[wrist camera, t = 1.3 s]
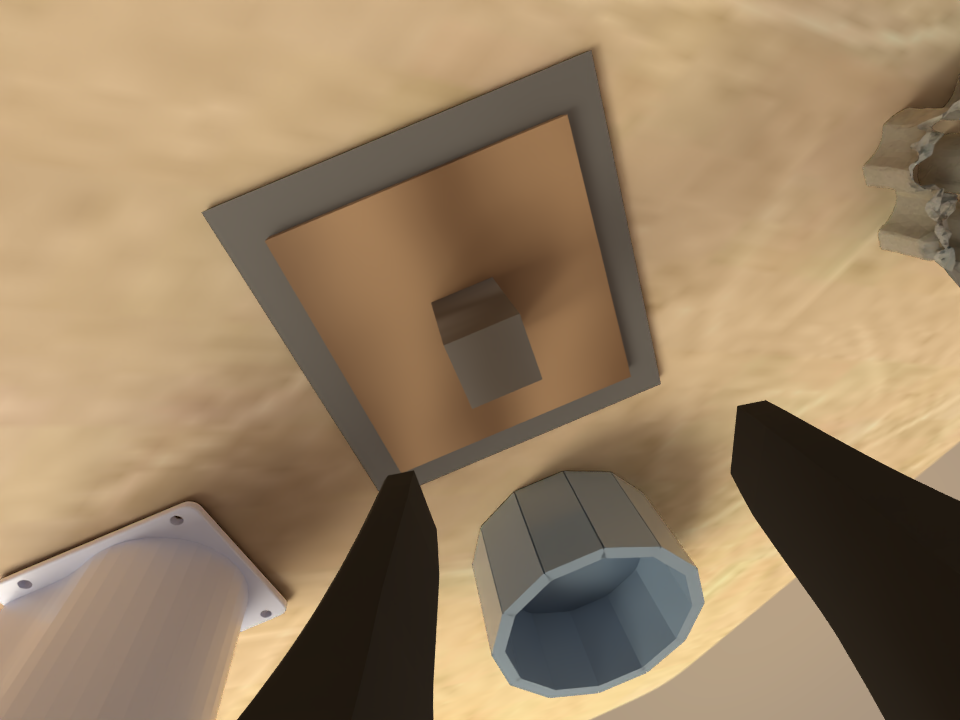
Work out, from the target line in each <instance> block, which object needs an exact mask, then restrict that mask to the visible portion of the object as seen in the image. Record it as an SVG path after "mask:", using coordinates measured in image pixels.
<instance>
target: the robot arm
mask: <svg viewBox="0 0 960 720" xmlns="http://www.w3.org/2000/svg"><path fill="white" fill-rule="evenodd" d="M731 475H732V477H733V479H734V481H735V483H736V485H737V487H738V489H739V491H740V493H741V494H742V496H743V498H744V500H745V502H746V504H747V505H748V507H749V509H750V511H751V513H752V514H753V516H754V517H755V519H756V520H757V522H758V523H759V525H760V526H761V528H762V529H763V530H764V532H765V533H766V535H767V536H768V538H769V539H770V540H771V542H772V543H773V545H774V546H775V548H776V549H777V550H778V552H779V553H780V555H781V556H782V557H783V559H784V560H785V562H786V563H787V564H788V566H789V567H790V569H791V570H792V571H793V573H794V574H795V576H796V577H797V578H798V580H799V581H800V583H801V584H802V585H803V587H804V588H805V590H806V591H807V593H808V594H809V595H810V597H811V598H812V600H813V601H814V602H815V604H816V605H817V607H818V608H819V609H820V611H821V612H822V614H823V615H824V617H825V618H826V620H827V621H828V623H829V624H830V626H831V627H832V629H833V630H834V632H835V633H836V635H837V637H838V638H839V640H840V642H841V643H842V645H843V647H844V649H845V650H846V652H847V654H848V655H849V657H850V659H851V661H852V662H853V664H854V665H855V667H856V669H857V671H858V672H859V674H860V676H861V678H862V679H863V681H864V683H865V684H866V686H867V688H868V689H869V692H870V693H871V695H872V697H873V699H874V701H875V702H876V704H877V706H878V708H879V709H880V711H881V713H882V715H883V717H884V718H885V720H960V501H958V500H956V499H954V498H952V497H950V496H948V495H945V494H943V493H941V492H939V491H937V490H935V489H933V488H931V487H929V486H927V485H925V484H922V483H920V482H918V481H916V480H914V479H912V478H910V477H908V476H906V475H904V474H902V473H900V472H898V471H896V470H894V469H892V468H890V467H888V466H886V465H884V464H882V463H880V462H878V461H876V460H875V459H873V458H871V457H869V456H867V455H865V454H863V453H861V452H859V451H858V450H856V449H854V448H852V447H850V446H848V445H846V444H845V443H843V442H841V441H839V440H837V439H835V438H834V437H832V436H830V435H828V434H826V433H825V432H823V431H821V430H819V429H817V428H816V427H814V426H812V425H810V424H808V423H807V422H805V421H803V420H801V419H799V418H798V417H796V416H794V415H792V414H790V413H789V412H787V411H785V410H783V409H781V408H779V407H778V406H776V405H774V404H772V403H770V402H768V401H766V400H765V401H760V402H755V403H750V404H745V405H740V406H737V415H736V424H735V434H734V444H733V454H732V463H731ZM174 516H180V517H181V518H182V519H179V518H176V517H174ZM438 589H439V560H438V543H437V529H436V527H435V524H434V521H433V519H432V516H431V514H430V511H429V508H428V506H427V503H426V500H425V498H424V495H423V493H422V490H421V487H420V485H419V482H418V479H417V477H416V474H415V472H414V470H413V471H408V472H403V473H398V474H393V475H388V476H387V477H386V479H385V480H384V482H383V484H382V486H381V489H380V491H379V493H378V495H377V497H376V499H375V501H374V504H373V506H372V508H371V510H370V512H369V514H368V516H367V518H366V520H365V522H364V524H363V526H362V528H361V530H360V532H359V534H358V536H357V538H356V540H355V542H354V544H353V545H352V547H351V549H350V551H349V553H348V555H347V557H346V559H345V561H344V563H343V564H342V566H341V568H340V570H339V571H338V573H337V575H336V577H335V578H334V580H333V582H332V583H331V585H330V587H329V588H328V590H327V592H326V594H325V595H324V597H323V599H322V600H321V602H320V604H319V605H318V607H317V609H316V610H315V612H314V613H313V615H312V617H311V618H310V620H309V621H308V623H307V624H306V626H305V627H304V629H303V630H302V632H301V634H300V635H299V636H298V638H297V639H296V641H295V642H294V644H293V645H292V647H291V648H290V650H289V651H288V653H287V654H286V655H285V657H284V658H283V660H282V661H281V662H280V664H279V665H278V667H277V668H276V669H275V671H274V672H273V673H272V675H271V676H270V677H269V679H268V680H267V681H266V683H265V684H264V685H263V687H262V688H261V690H260V691H259V692H258V694H257V695H256V696H255V698H254V699H253V700H252V701H251V703H250V704H249V705H248V707H247V708H246V709H245V710H244V712H243V713H242V714H241V715H240V717H239V718H238V719H237V720H433V679H434V662H435V644H436V626H437V609H438ZM0 603H2V604H3V605H4V607H3V608H2V609H1V611H0V720H216V717H217V713H218V709H219V706H220V702H221V699H222V695H223V691H224V688H225V684H226V680H227V677H228V673H229V669H230V666H231V662H232V658H233V655H234V651H235V647H236V644H237V640H238V636H239V633H240V632H242V631H244V630H246V629H249V628H251V627H253V626H256V625H258V624H261V623H263V622H265V621H268V620H270V619H272V618H275V617H277V616H280V615H282V614H283V613H284V612H285V611H286V607H287V601H286V600H285V598H284V597H283V596H282V595H281V594H280V593H279V592H278V591H277V590H276V588H275V587H274V586H273V585H272V584H271V583H270V582H269V581H268V580H267V578H266V577H265V576H264V575H263V574H262V573H261V572H260V571H259V570H258V569H257V567H256V566H255V565H254V564H253V563H252V562H251V561H250V560H249V559H248V557H247V556H246V555H245V554H244V553H243V552H242V551H241V550H240V549H239V547H238V546H237V545H236V544H235V543H234V542H233V541H232V540H231V539H230V538H229V536H228V535H227V534H226V533H225V532H224V531H223V530H222V529H221V528H220V526H219V525H218V524H217V523H216V522H215V521H214V520H213V519H212V518H211V517H210V515H209V514H208V513H207V512H206V511H205V510H204V509H203V508H202V507H201V506H200V505H199V504H198V503H195V502H190V501H187V502H183V503H181V504H178V505H176V506H174V507H171V508H169V509H166V510H164V511H162V512H159V513H157V514H154V515H152V516H150V517H147V518H145V519H143V520H140V521H138V522H135V523H133V524H131V525H128V526H126V527H124V528H121V529H119V530H116V531H114V532H112V533H109V534H107V535H105V536H102V537H100V538H97V539H95V540H93V541H90V542H88V543H85V544H83V545H81V546H78V547H76V548H74V549H71V550H69V551H66V552H64V553H62V554H59V555H57V556H55V557H52V558H50V559H47V560H45V561H43V562H40V563H38V564H35V565H33V566H31V567H28V568H26V569H24V570H21V571H19V572H16V573H14V574H12V575H9V576H7V577H5V578H2V579H0ZM267 610H268V611H267Z"/></svg>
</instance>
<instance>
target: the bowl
mask: <svg viewBox="0 0 960 720" xmlns="http://www.w3.org/2000/svg"><path fill="white" fill-rule="evenodd" d="M472 566H473V570H474V575H475V580H476V584H477V589H478V594H479V598H480V603H481V608H482V612H483V617H484V622H485V626H486V631H487V636H488V641H489V645H490V650H491V655H492V657H493V658H494V660H495V662H496V663H497V665H498V666H499V668H500V670H501V671H502V673H503V675H504V676H505V678H506V679H507V681H508V683H509V684H510V685H511V686H514V687H517V688H520V689H523V690H527V691H530V692H533V693H536V694H539V695H542V696H545V697H548V698H549V697H550V698H555V697H565V696H575V695H585V694H595V693H598V692H599V693H600V692H602V691H605V690H607V689H610V688H612V687H614V686H617V685H619V684H621V683H624V682H626V681H628V680H631V679H633V678H635V677H638V676H640V675H643V674H645V673H646V671H647V672H648V671H650V670H651V669H652V668H653V667H654V666H656V665H657V664H658V663H659V662H660V661H662V660H663V659H664V658H665V657H666V656H667V655H669V654H670V653H671V652H672V651H673V650H675V649H676V648H677V647H678V646H679V645H681V644H682V643H683V642H684V641H685V640H686V638H687V636H688V634H689V632H690V630H691V628H692V626H693V625H694V623H695V621H696V619H697V617H698V615H699V613H700V611H701V609H702V607H703V605H704V597H703V593H702V588H701V583H700V579H699V574H698V569H697V567H696V566H695V564H694V563H693V562H692V560H691V559H690V557H689V556H688V555H687V553H686V552H685V551H684V549H683V548H682V546H681V545H680V544H679V542H678V541H677V539H676V538H675V537H674V535H673V534H672V532H671V531H670V530H669V528H668V527H667V525H666V524H665V523H664V521H663V520H662V519H661V517H660V516H659V514H658V513H657V512H656V510H655V509H654V507H653V506H652V505H651V503H650V502H649V500H648V499H647V498H646V496H645V495H644V494H643V492H641V491H640V490H638V489H637V488H635V487H634V486H632V485H630V484H629V483H627V482H626V481H624V480H623V479H621V478H620V477H618V476H617V475H615V474H613V473H612V472H585V471H564V472H560V473H557V474H555V475H553V476H550V477H548V478H545V479H543V480H541V481H538V482H536V483H534V484H531V485H529V486H526V487H524V488H522V489H519V490H517V491H515V493H514V492H513V493H512V494H511V495H510V497H509V498H508V499H507V500H506V501H505V502H504V503H503V504H502V505H501V506H500V507H499V508H498V509H497V510H496V511H495V512H494V513H493V515H492V516H491V517H490V518H489V519H488V520H487V521H486V522H485V523H484V524H483V525H482V526H481V528H480V532H479V536H478V541H477V546H476V550H475V555H474V559H473V564H472Z"/></svg>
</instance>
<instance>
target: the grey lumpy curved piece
mask: <svg viewBox="0 0 960 720" xmlns="http://www.w3.org/2000/svg"><path fill="white" fill-rule="evenodd" d="M940 120H960V74H959V76H958V81H957V85H956V88H955V90H954V93H953V95H952V97H951V98H950V100H949V101H948V103H947V104H946V105H945V106H944V107H943V108H924V109H917V108H905V109H904V110H902V111H900V112H898V113H896V114H895V115H894V116H892V117H891V118H890V119H889V120H888V121H887V122H886V123H885V124H884V125H883V133H882V138H881V141H880V144H879V146H878V148H877V150H876V151H875V153H874V154H873V156H872V157H871V158H870V159H869V160H868V161H867V162H866V164H865V165H864V166H863V173H864V177H865V182H866V185H867V186H874V187H884V188H889V189H895V190H896V195H897V199H896V205H895V207H894V210H893V212H892V214H891V216H890V217H889V219H888V220H887V222H886V223H885V224H884V225H883V226H882V228H881V229H880V230H879V231H878V238H879V241H880V247H881V249H883V250H888V251H893V252H898V253H901V254H905V255H909V256H913V257H917V258H920V259H923V260H935V261H936V262H937V263H938V264H939V265H940V266H942V267H943V268H944V269H945V270H946V272H947V273H948V274H949V276H950V277H951V278H952V279H953V280H954V281H955V282H956V284H957V285H958V286H959V287H960V200H959V201H957V200H958V199H957V195H956V194H954V193H958V194H960V133H950V134H946V135H944V134H943V133H940V132H936V131H933V129H932V126H933V125H934V124H935V123H937V122H938V121H940ZM943 135H944V136H943ZM919 163H920V165H919V171H918V179H919V182H920V184H921V185H922V186H920V185H919V184H917V183H916V182H915V181H914V179H913V169H914V167H915V166H916V165H917V164H919ZM946 192H951V193H946Z"/></svg>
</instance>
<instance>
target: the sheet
mask: <svg viewBox="0 0 960 720" xmlns="http://www.w3.org/2000/svg"><path fill="white" fill-rule="evenodd" d="M265 243H266V244H267V246H268V248H269V249H270V251H271V253H272V255H273V256H274V258H275V260H276V261H277V263H278V265H279V266H280V268H281V270H282V272H283V273H284V275H285V277H286V278H287V280H288V282H289V283H290V285H291V287H292V289H293V290H294V292H295V294H296V295H297V297H298V299H299V300H300V302H301V304H302V305H303V307H304V309H305V311H306V312H307V314H308V316H309V317H310V319H311V321H312V322H313V324H314V326H315V328H316V329H317V331H318V333H319V334H320V336H321V338H322V339H323V341H324V343H325V345H326V346H327V348H328V350H329V351H330V353H331V355H332V356H333V358H334V360H335V362H336V363H337V365H338V367H339V368H340V370H341V372H342V373H343V375H344V377H345V378H346V380H347V382H348V384H349V385H350V387H351V389H352V390H353V392H354V394H355V395H356V397H357V399H358V401H359V402H360V404H361V406H362V407H363V409H364V411H365V412H366V414H367V416H368V418H369V419H370V421H371V423H372V424H373V426H374V428H375V429H376V431H377V433H378V435H379V436H380V438H381V440H382V441H383V443H384V445H385V446H386V448H387V450H388V452H389V453H390V455H391V457H392V458H393V460H394V462H395V463H396V465H397V467H398V468H399V470H400V472H401V473H403V472H406V471H408V470H410V469H413V468H415V467H418V466H420V465H422V464H425V463H427V462H429V461H432V460H434V459H437V458H439V457H441V456H444V455H446V454H449V453H451V452H453V451H456V450H458V449H460V448H463V447H465V446H468V445H470V444H472V443H475V442H477V441H479V440H482V439H484V438H487V437H489V436H491V435H494V434H496V433H498V432H501V431H503V430H506V429H508V428H510V427H513V426H515V425H517V424H520V423H522V422H525V421H527V420H529V419H532V418H534V417H536V416H539V415H541V414H544V413H546V412H548V411H551V410H553V409H555V408H558V407H560V406H563V405H565V404H567V403H570V402H572V401H574V400H577V399H579V398H582V397H584V396H586V395H589V394H591V393H593V392H596V391H598V390H601V389H603V388H605V387H608V386H610V385H612V384H615V383H617V382H620V381H622V380H624V379H627V378H629V377H631V375H630V371H629V367H628V362H627V358H626V354H625V350H624V346H623V342H622V338H621V334H620V329H619V325H618V321H617V317H616V313H615V309H614V305H613V301H612V296H611V292H610V288H609V284H608V280H607V276H606V272H605V268H604V263H603V259H602V255H601V251H600V247H599V243H598V239H597V235H596V230H595V226H594V222H593V218H592V214H591V210H590V206H589V202H588V197H587V193H586V189H585V185H584V181H583V177H582V173H581V169H580V164H579V160H578V156H577V152H576V148H575V144H574V140H573V136H572V131H571V127H570V123H569V119H568V115H560V116H558V117H555V118H553V119H551V120H548V121H546V122H543V123H541V124H539V125H536V126H534V127H531V128H529V129H527V130H524V131H522V132H519V133H517V134H515V135H512V136H510V137H508V138H505V139H503V140H500V141H498V142H496V143H493V144H491V145H488V146H486V147H484V148H481V149H479V150H476V151H474V152H472V153H469V154H467V155H464V156H462V157H460V158H457V159H455V160H452V161H450V162H448V163H445V164H443V165H440V166H438V167H436V168H433V169H431V170H428V171H426V172H424V173H421V174H419V175H416V176H414V177H412V178H409V179H407V180H404V181H402V182H400V183H397V184H395V185H393V186H390V187H388V188H385V189H383V190H381V191H378V192H376V193H373V194H371V195H369V196H366V197H364V198H361V199H359V200H357V201H354V202H352V203H349V204H347V205H345V206H342V207H340V208H337V209H335V210H333V211H330V212H328V213H325V214H323V215H321V216H318V217H316V218H313V219H311V220H309V221H306V222H304V223H301V224H299V225H297V226H294V227H292V228H289V229H287V230H285V231H282V232H280V233H278V234H275V235H273V236H270V237H268V238H267V239H266V240H265Z"/></svg>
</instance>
